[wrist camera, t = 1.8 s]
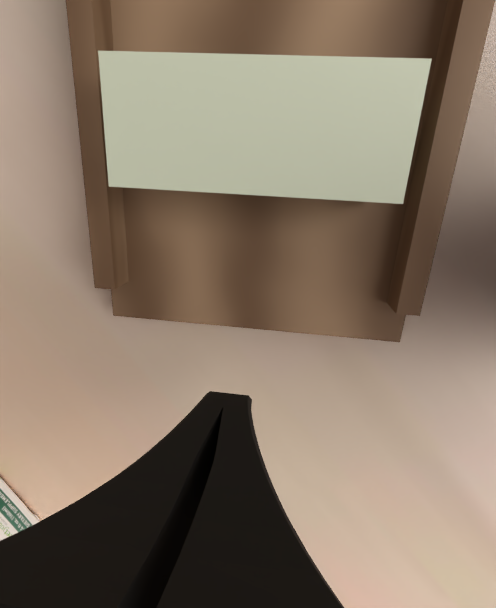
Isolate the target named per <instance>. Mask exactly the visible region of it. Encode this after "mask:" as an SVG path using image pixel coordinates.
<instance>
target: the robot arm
mask: <svg viewBox="0 0 496 608" xmlns="http://www.w3.org/2000/svg"><path fill="white" fill-rule="evenodd" d="M251 403H252V399H251V398H250V397H249V396H247V395H238V394H229V393H220V392H211V391H210V392H209V393H207V394H206V395H205V396H204V397H203V399H202V400H201V401H200V402H199V403H198V404H197V405H196V406H195V407H194V409H193V410H192V411H191V412H190V413H189V414H188V415H187V416H186V417H185V418H184V419H183V420H182V421H181V422H180V423H179V424H178V425H177V426H176V427H175V428H174V429H173V430H172V431H171V432H170V433H169V434H168V435H166V436H165V437H164V438H163V439H162V440H161V441H160V442H158V443H157V444H156V445H155V446H154V447H153V448H152V449H150V450H149V451H148V452H147V453H146V454H144V455H143V456H142V457H141V458H140V459H138V460H137V461H136V462H134V463H133V464H132V465H130V466H129V467H128V468H126V469H125V470H124V471H122V472H121V473H120V474H118V475H117V476H115V477H114V478H112V479H111V480H109V481H108V482H106V483H105V484H103V485H102V486H100V487H99V488H97V489H96V490H94V491H92V492H91V493H89V494H88V495H86V496H85V497H83V498H81V499H80V500H78V501H76V502H75V503H73V504H71V505H69V506H67V507H66V508H64V509H62V510H60V511H59V512H57V513H55V514H53V515H51V516H49V517H47V518H46V519H44V520H42V521H40V522H38V523H36V524H34V525H32V526H30V527H28V528H26V529H24V530H22V531H20V532H18V533H16V534H14V535H12V536H9V537H7V538H5V539H3V540H1V541H0V608H344V607H343V605H342V604H341V603H340V601H339V600H338V598H337V597H336V595H335V594H334V592H333V591H332V590H331V588H330V587H329V585H328V584H327V582H326V581H325V579H324V578H323V576H322V575H321V573H320V571H319V570H318V568H317V567H316V565H315V564H314V562H313V560H312V559H311V557H310V556H309V554H308V552H307V551H306V549H305V547H304V545H303V544H302V542H301V540H300V538H299V536H298V535H297V533H296V531H295V529H294V528H293V526H292V524H291V522H290V520H289V519H288V517H287V515H286V513H285V511H284V509H283V507H282V504H281V502H280V500H279V498H278V496H277V494H276V492H275V489H274V487H273V485H272V482H271V480H270V477H269V475H268V472H267V470H266V467H265V464H264V461H263V458H262V455H261V452H260V449H259V446H258V442H257V438H256V434H255V430H254V426H253V420H252V413H251Z"/></svg>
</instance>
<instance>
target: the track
mask: <svg viewBox="0 0 496 608" xmlns="http://www.w3.org/2000/svg"><path fill="white" fill-rule="evenodd" d="M494 3H495V0H66V6H67V16H68V26H69V36H70V46H71V56H72V66H73V76H74V85H75V95H76V105H77V115H78V125H79V135H80V145H81V155H82V165H83V175H84V185H85V195H86V205H87V214H88V224H89V234H90V244H91V254H92V264H93V274H94V284H95V288H104V289H111V294H112V306H113V315H114V316H124V317H135V318H146V319H157V320H167V321H178V322H189V323H200V324H210V325H221V326H232V327H243V328H253V329H264V330H275V331H286V332H296V333H307V334H318V335H329V336H339V337H350V338H361V339H372V340H382V341H393V342H400V339H401V334H402V330H403V325H404V321H405V316H406V315H417V316H420V312H421V308H422V304H423V300H424V295H425V291H426V287H427V283H428V279H429V274H430V270H431V266H432V262H433V258H434V254H435V249H436V245H437V241H438V237H439V233H440V228H441V224H442V220H443V216H444V212H445V207H446V203H447V199H448V195H449V191H450V187H451V182H452V178H453V174H454V170H455V166H456V161H457V157H458V153H459V149H460V145H461V141H462V136H463V132H464V128H465V124H466V120H467V115H468V111H469V107H470V103H471V99H472V95H473V90H474V86H475V82H476V78H477V74H478V69H479V65H480V61H481V57H482V53H483V49H484V44H485V40H486V36H487V32H488V28H489V23H490V19H491V15H492V11H493V7H494ZM98 51H134V52H176V53H218V54H259V55H301V56H343V57H384V58H426V59H432V60H431V65H430V70H429V75H428V80H427V85H426V90H425V96H424V101H423V106H422V111H421V116H420V121H419V126H418V131H417V136H416V141H415V146H414V151H413V156H412V161H411V166H410V171H409V176H408V181H407V186H406V191H405V196H404V202H403V204H394V203H377V202H360V201H344V200H327V199H310V198H293V197H276V196H259V195H243V194H226V193H209V192H192V191H175V190H159V189H142V188H125V187H109V183H108V171H107V158H106V145H105V132H104V119H103V107H102V94H101V81H100V68H99V56H98Z"/></svg>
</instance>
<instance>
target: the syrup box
mask: <svg viewBox="0 0 496 608" xmlns="http://www.w3.org/2000/svg"><path fill="white" fill-rule="evenodd" d="M39 521H40V519H39V517H38V516H37V515H35V514H33V513H32V512H31V511H30V510H29V509H28V508H27V507H26V506H25V504H24V503H23V502H22V501H21V500H20V499H19V498H18V496H17V495H16V494H15V493H14V492H13V491H12V490H11V488H10V487H9V486H8V485H7V484H6V483H5V482H4V481H3V479H2V478H1V477H0V541H1V540H3V539H5V538H7V537H9V536H12V535H14V534H16V533H18V532H20V531H22V530H24V529H26V528H28V527H30V526H32V525H34V524H36V523H38V522H39Z"/></svg>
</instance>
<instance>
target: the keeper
mask: <svg viewBox="0 0 496 608" xmlns="http://www.w3.org/2000/svg"><path fill="white" fill-rule="evenodd" d="M98 56H99V68H100V81H101V94H102V107H103V119H104V132H105V145H106V158H107V171H108V183H109V187H125V188H142V189H159V190H175V191H192V192H209V193H226V194H243V195H259V196H276V197H293V198H310V199H327V200H344V201H360V202H377V203H394V204H403V202H404V196H405V191H406V186H407V181H408V176H409V171H410V166H411V161H412V156H413V151H414V146H415V141H416V136H417V131H418V126H419V121H420V116H421V111H422V106H423V101H424V96H425V90H426V85H427V80H428V75H429V70H430V65H431V60H432V59H426V58H384V57H343V56H301V55H259V54H218V53H176V52H134V51H98Z"/></svg>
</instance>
